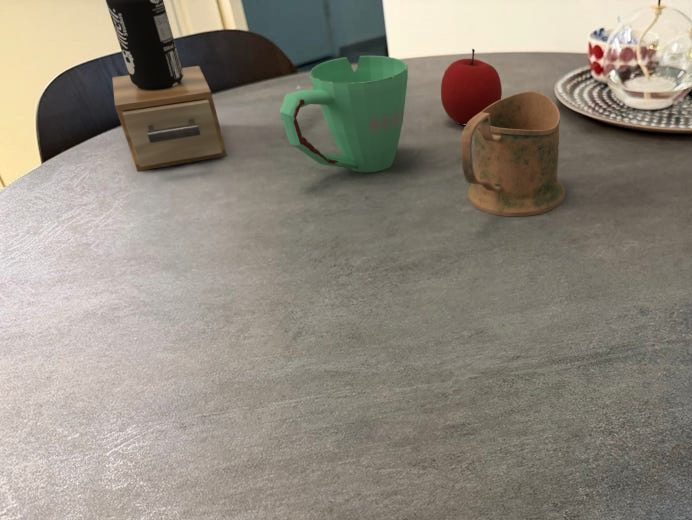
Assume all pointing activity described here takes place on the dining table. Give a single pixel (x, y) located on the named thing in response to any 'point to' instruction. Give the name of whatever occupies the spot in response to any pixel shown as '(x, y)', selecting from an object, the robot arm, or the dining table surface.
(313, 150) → the mug
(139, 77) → the beverage can
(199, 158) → the cabinet
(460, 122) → the apple
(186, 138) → the drawer
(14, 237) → the dining table surface
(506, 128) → the mug
